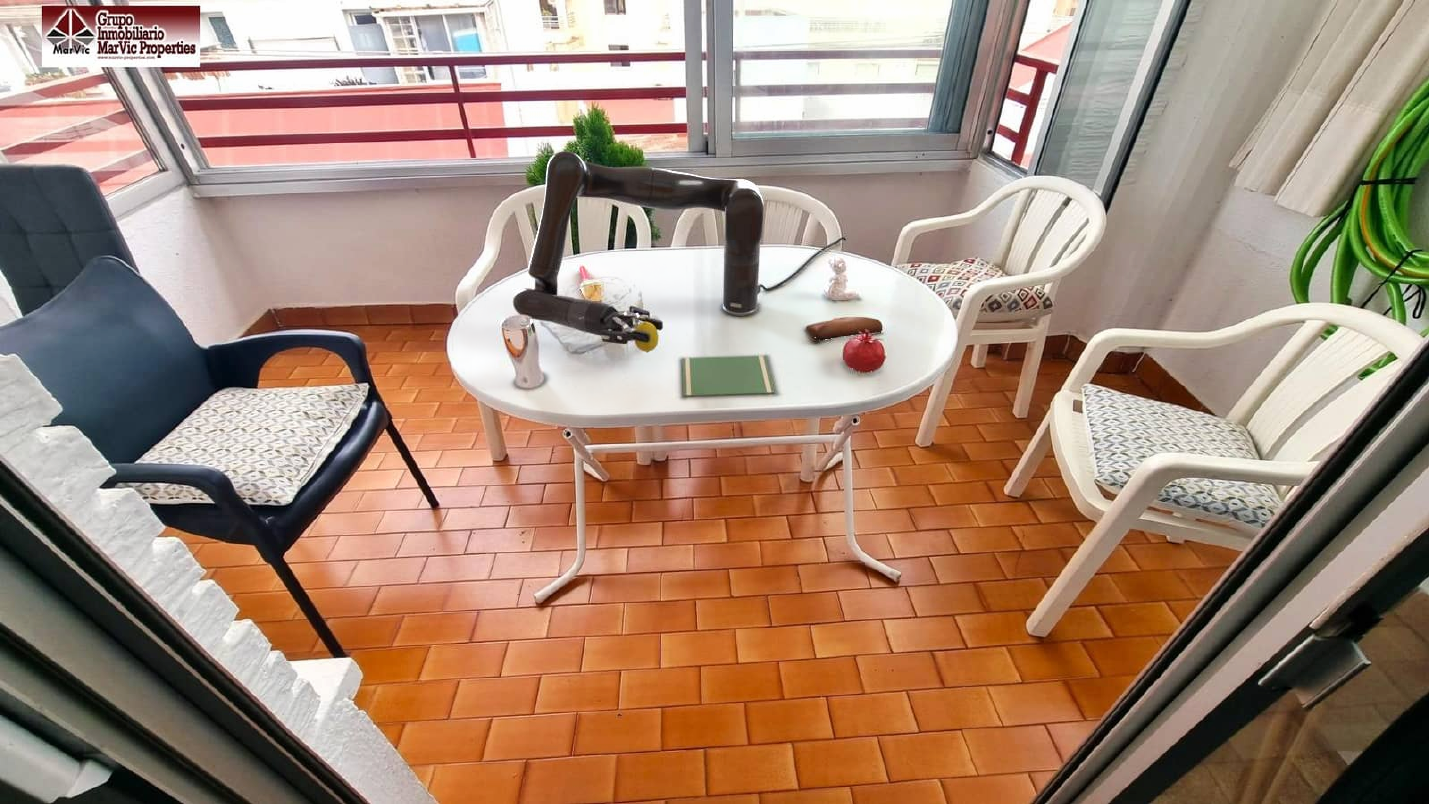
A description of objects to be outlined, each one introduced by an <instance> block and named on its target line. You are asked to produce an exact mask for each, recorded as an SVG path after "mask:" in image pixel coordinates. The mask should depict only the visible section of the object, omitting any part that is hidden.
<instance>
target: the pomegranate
mask: <svg viewBox="0 0 1429 804" xmlns="http://www.w3.org/2000/svg"><path fill="white" fill-rule="evenodd" d="M858 332H859V331H858ZM859 333H860V334H861V335H855V336H854V337H852V338H849V339H848V340H847V342H846V343H844V345H843V348H842V360H843V362H844V361H845V362H844V363H845V365H846V366H847V367H848V369H849V368H850V369H851V370H853V371H855V372H858V373H861V374H867V373H868V374H869V373H874V372H876V371H878V370H879V369H880V368H882V367H883V366H884V363H885V361H886V359H887V356H886V352H885V351H886V350H885V347H884V345H883V343H882V342H883V341H885V340H884V339H881V338H878V337H873V336H876V335H877V333H871V334H869V330H865V334H863V333H862V332H859ZM881 341H882V342H881ZM852 368H853V369H852ZM875 370H876V371H875ZM859 371H860V372H859ZM871 371H872V372H871Z"/></svg>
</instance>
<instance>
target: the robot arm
mask: <svg viewBox="0 0 1429 804" xmlns="http://www.w3.org/2000/svg"><path fill="white" fill-rule="evenodd" d="M577 198H595V199H606V200H611V201H612V200H613V201H616V202H620V203H623V204H628V205H632V206H638V207H643V208H650V209H653V210H661V211H683V210H691V209H700V208H702V209H710V210H716V211H718V212H719V211H720V212H724V215H725V216H724V225H725V226H724V238H723V293H722V294H723V295H722V296H723V297H722V298H723V299H722V301H723V302H722V310H723V311H724V312H725V313H726V314H727V315H731V316H735V317H746V316H747V317H748V316H751V315H753V314H754V313H756V312H757V311H758V295H759V294H760V293H761V289H762V290H764V291H766V292H767V291H772V290H774V289H777V288H779V287H780V286H782V285H784V284H785V283H787V282H788V281H790V280H791V279H793V278H794V277H795V276H796V275H797V274H798V273H799V272H801V271H802V269H803V268H805V267H806V266H807V265H808V264H809V263H810V262H811V261H812V260H813V259H814V258H815V257H817V256H818V255H819V254H821V253H822V252H823V251H825V250H827V249H828V248H830V247H833V246H834V245H837V243H839V242H841V241H847V239H846V238H845V236H843V237H842V236H841V237H840V238H838V239H837V240H836V241H834V242H832V243H829V244H828V245H826V246H823V248H821V249H820V250H823V251H819V250H818V251H817V252H815V253H814V254H813V255H812V256H811V257H809V258H808V259H807V260H806V261H805V262H804V263H803V264H802V265H801V266H800V267H799V268H798V269H797V270H795V271H794V272H793V273H792V274H791V275H789V276H788V277H786V279H784V280H782V281H780V282H779V283H777V284H775V285H774V286H770V287H766V286H765V285H764V284H762V283H759V273H760V257H761V255H760V253H761V242H762V238H763V225H764V212H765V211H764V209H765V208H764V200H763V197H762V195H761V192H760V190H759V188H758V186H757V185H756V184H755V183H754V182H751V181H750V180H747V179H735V178H734V179H733V178H714V177H713V178H712V177H705V176H700V175H697V174H692V173H686V172H680V171H676V170H670V169H665V168H658V167H652V166H624V167H623V166H622V167H611V166H604V165H601V164H600V165H599V164H595V163H591V162H587V161H584V160H583V159H582V158H581V157H580V155H578V154H576V153H575V152H572V151H569V150H562V151H558V152H556V153H555V154H554V155H552V156H551V158H550V159H549V161H548V162H547V167H546V177H545V192H544V201H543V206H542V213H541V216H540V221H539V226H538V229H537V233H536V237H535V241H534V244H533V247H532V251H531V256H530V259H529V264H528V269H527V272H528V273H527V274H528V275H529V276H530V277H531V278H532V279H534V288H529V287H528V288H527V287H526V288H522V289H519V290H518V291H517V292H516V293H515V294H514V297H513V299H512V305H513V308H514V310H515V312H516V313H517V315H527V316H530V317H531V318H532V319H533V320H537V321H543V322H549V323H554V324H557V325H559V326H564V327H567V328H572V329H575V330H577V331H580V332H582V333H583V332H584V333H588V334H593V335H595V336H600V337H601V341H602V342H604V343H610V344H619V345H627V344H628V342H635V341H634V340H636V341H641V342H646V343H648V342H649V341H650V334H649V333H647V332H643V331H638V330H635V329H636V327H637V326H638V325H639V324H640V323H641V322H645V321H646V322H649V323H651V324H653V325H654V326H655V327H656V329H657V331H662V330H663V328H664V325H663V323H664V322H663V321H662V320H660V319H657V318H652V317H651V315H650V314H651V312H650V311H648V310H645V309H643V308H640V307H637V306H634V305H630V306H629V307H628V309H629V310H627V311H624V310H623V311H621V310H617V309H616V307H615V306H614V305H612V304H609V303H604V302H599V301H596V302H595V301H591V300H588V299H586V298H585V299H583V298H576V297H572V296H566V295H558V289H559V288H558V287H559V285H558V284H559V283H558V277H559V274H560V269H561V267H562V262H563V258H564V254H565V248H566V241H567V235H568V234H567V233H568V226H569V220H570V218H571V217H570V216H571V213H572V210H573V207H574V204H575V201H576V199H577ZM618 337H619V338H618Z"/></svg>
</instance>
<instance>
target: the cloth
mask: <svg viewBox="0 0 1429 804" xmlns="http://www.w3.org/2000/svg"><path fill="white" fill-rule="evenodd" d="M681 363H682V366H681V367H682V393H683V395H682V396H683V398H692V397H722V396H748V395H749V396H750V395H775V394H776V391H775V386H774V383H773V378H772V376H771V375H772V374H771V371H770V367H769V363H768V360H767V356H766V355H753V356H751V355H750V356H718V357H717V356H716V357H715V356H714V357H684V358H681Z"/></svg>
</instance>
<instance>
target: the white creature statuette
mask: <svg viewBox="0 0 1429 804" xmlns="http://www.w3.org/2000/svg"><path fill="white" fill-rule="evenodd" d="M827 263H828V264H829V267H830V269H831V270H832V272H831V273H830V275H829V276H828V281H827V282H826V285H825V286H824V289H823V293H824V297H826V298H827V299H829V300H831V301H848V300H849V301H850V300H857V299H858V298H859V297H860V293H859V292H858V291H856V290H855V289H853V288H852V289H848V286H847V283H848V278H847V277H848V276H847V274H846V271H847V266H846V264H847V263H846V261H845V260H844V257H843V256H842V255H837V256H836V255H835V256H834V257H833V258H831V257H828V260H827ZM855 296H858V297H855Z"/></svg>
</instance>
